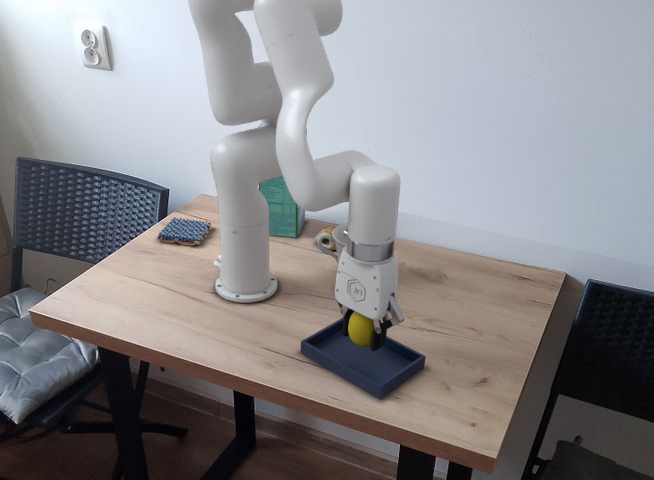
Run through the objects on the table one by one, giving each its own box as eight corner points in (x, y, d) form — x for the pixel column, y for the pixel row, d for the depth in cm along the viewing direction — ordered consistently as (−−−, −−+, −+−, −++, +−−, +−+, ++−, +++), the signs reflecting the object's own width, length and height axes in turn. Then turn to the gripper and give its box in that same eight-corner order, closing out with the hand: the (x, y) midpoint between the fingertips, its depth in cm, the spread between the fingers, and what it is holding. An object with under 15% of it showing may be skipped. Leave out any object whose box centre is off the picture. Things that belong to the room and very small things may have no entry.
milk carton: (297, 238, 163) (298, 130, 148) (259, 233, 164) (257, 126, 150) (305, 221, 170) (307, 117, 155) (268, 217, 171) (267, 114, 157)
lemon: (342, 351, 121) (344, 312, 116) (353, 335, 125) (355, 296, 120) (373, 359, 119) (376, 319, 114) (383, 342, 123) (386, 303, 119)
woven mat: (214, 228, 166) (214, 220, 165) (198, 248, 157) (198, 240, 156) (173, 223, 168) (172, 215, 167) (155, 242, 159) (154, 234, 158)
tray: (300, 353, 125) (300, 341, 124) (345, 326, 132) (346, 315, 131) (379, 399, 115) (381, 386, 113) (424, 368, 122) (425, 356, 121)
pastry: (341, 231, 166) (342, 216, 164) (362, 241, 162) (363, 226, 160) (312, 243, 160) (313, 228, 158) (333, 254, 156) (333, 238, 154)
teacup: (317, 261, 153) (318, 219, 147) (385, 264, 153) (389, 221, 147) (315, 289, 143) (317, 245, 138) (388, 292, 143) (393, 248, 137)
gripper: (314, 235, 113) (312, 329, 124) (399, 272, 104) (388, 370, 114) (345, 222, 118) (340, 313, 128) (429, 256, 108) (416, 352, 119)
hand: (363, 339), depth 121 cm, fingers closed on lemon, 5 cm apart
